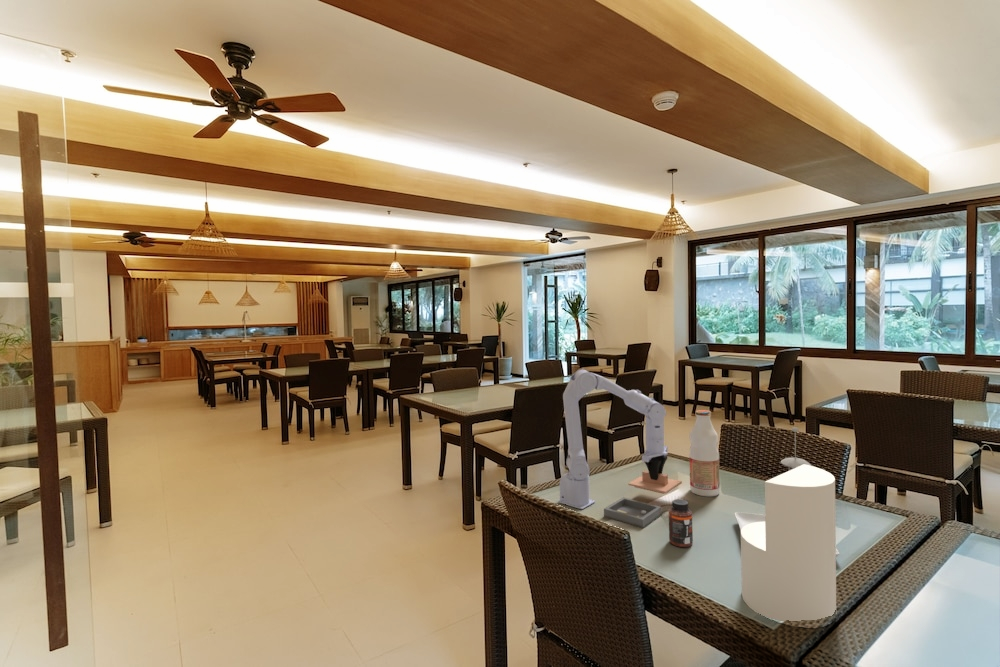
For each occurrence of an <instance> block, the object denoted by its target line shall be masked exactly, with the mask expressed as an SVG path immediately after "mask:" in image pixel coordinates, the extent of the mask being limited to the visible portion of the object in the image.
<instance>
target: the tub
mask: <svg viewBox="0 0 1000 667" xmlns="http://www.w3.org/2000/svg"><path fill="white" fill-rule="evenodd" d="M660 515H661V516H662V506H659V505H655V504H652V503H648V502H644V501H640V500H636V499H631V498H628V497H625V496H623V497H621V498H619V499H618V500H616V501H614V502H613V503H611V504H609V505H607V506H606V507H603V517H604V518H607V519H610V520H615V521H617V522H620V523H621V522H622V523H624V524H627V525H631V526H634V527H637V528H641V529H644V528H645V527H648V525H649V524H651V523H652V521H653V520H654V521H655V520H657V519H658V518H660V517H661V516H660ZM656 518H657V519H656ZM654 521H653V522H654Z"/></svg>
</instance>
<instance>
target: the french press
mask: <svg viewBox="0 0 1000 667" xmlns="http://www.w3.org/2000/svg"><path fill="white" fill-rule="evenodd" d="M791 431H792V432H794V457H785V458H783V459H782V460H781V461H780V463H781V464H782V465H783V466H785V467H788V471H790V470H791V469H794V468H796V467H799V466H801V465H803V464H806V465H810V466H812V464H811V463H810V462H809V461H807V460H805V459H802V458H799V457H797V455H796V454H797V442H796V441H797V438H796V436H797V433H798V432H800V429H799V428H798V427H796V426H795V427H794V426H793V427H791ZM796 432H797V433H796ZM790 468H791V469H790Z"/></svg>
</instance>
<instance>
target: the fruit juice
mask: <svg viewBox="0 0 1000 667" xmlns="http://www.w3.org/2000/svg"><path fill="white" fill-rule="evenodd" d="M695 416H696V418H695V422H694V425H693V427H692V429H691V430H690V432H689V441H690V447H689V454H688V455H689V456H688V457H689V488H690V492H691V493H693V494H694V495H696V496H700V497H701V496H702V497H716V496H718V495H719V494H720V491H721V490H720V487H721V486H720V452H719V449H718V443H719V435H718V432H717V431H716V430H715V427H714V425H713V422H712V420H711V417H712V411H710V410H708V409H707V410H704V409H699V410H695Z"/></svg>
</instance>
